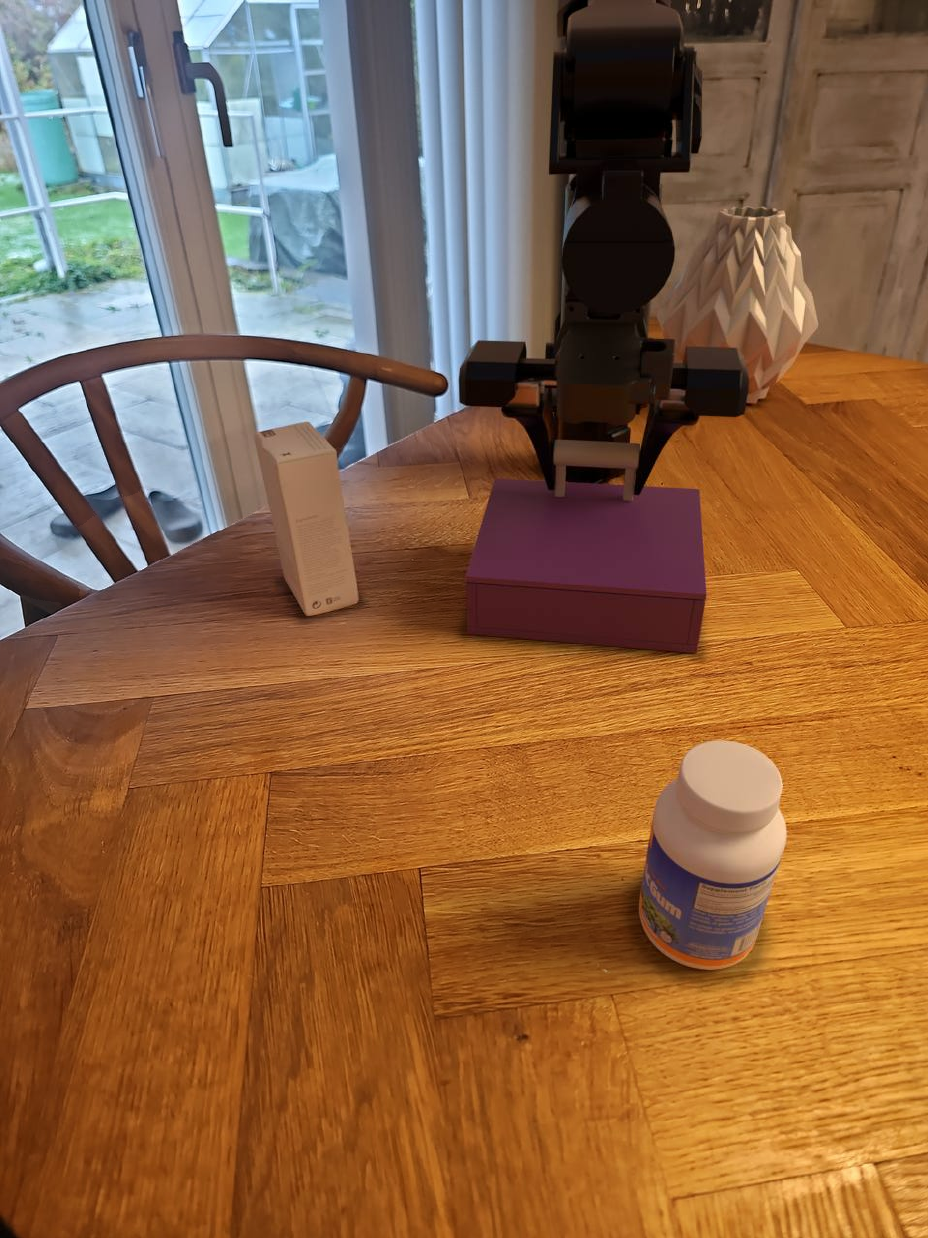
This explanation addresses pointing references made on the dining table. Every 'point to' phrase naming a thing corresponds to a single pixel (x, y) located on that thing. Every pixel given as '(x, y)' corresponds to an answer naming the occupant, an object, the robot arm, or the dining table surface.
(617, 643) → the case
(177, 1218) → the dining table surface
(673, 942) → the pill bottle
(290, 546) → the cosmetic box
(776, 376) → the vase
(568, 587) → the case cover
